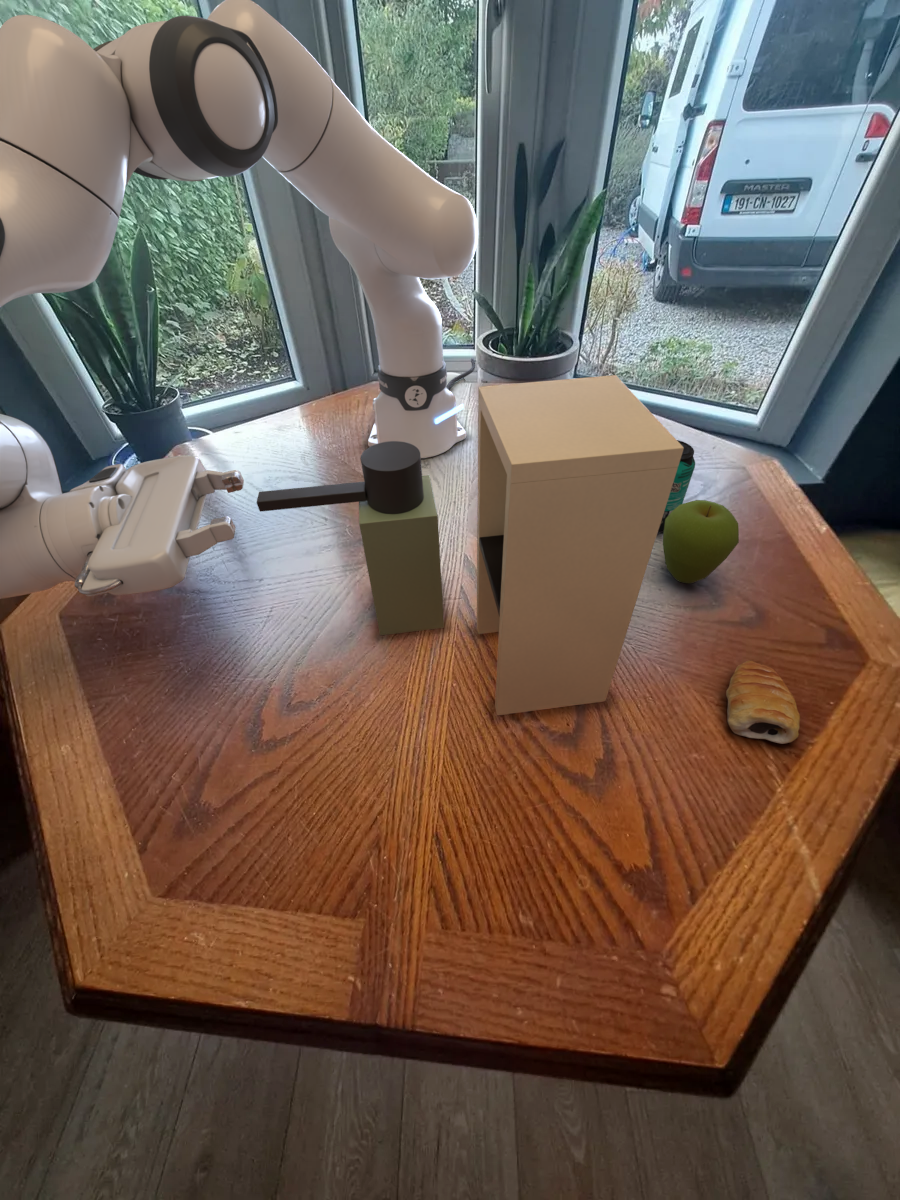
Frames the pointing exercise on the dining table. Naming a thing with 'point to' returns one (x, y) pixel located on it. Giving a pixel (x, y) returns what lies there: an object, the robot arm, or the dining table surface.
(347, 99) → the robot arm
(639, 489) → the tall cream box
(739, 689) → the pastry
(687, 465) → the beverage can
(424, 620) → the rectangular block
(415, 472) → the measuring cup
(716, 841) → the dining table surface
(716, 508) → the apple
